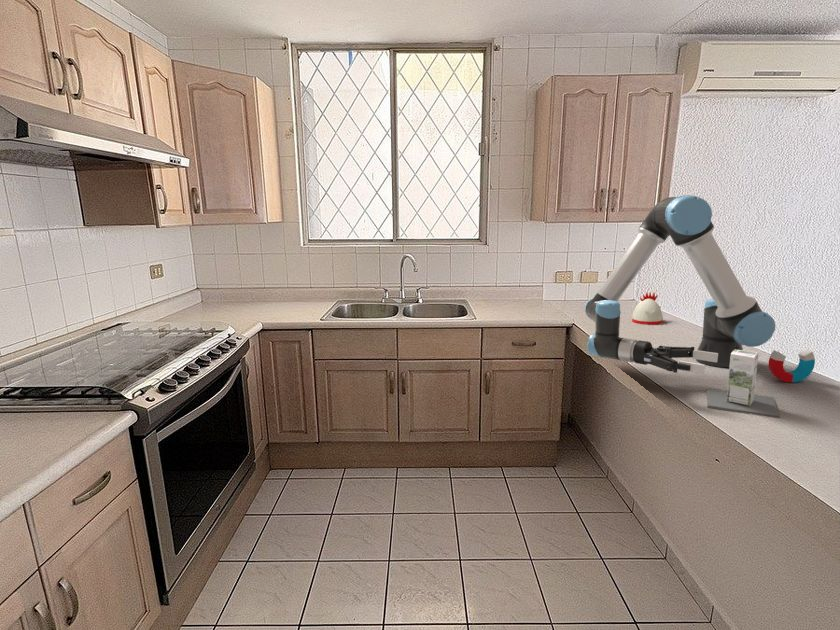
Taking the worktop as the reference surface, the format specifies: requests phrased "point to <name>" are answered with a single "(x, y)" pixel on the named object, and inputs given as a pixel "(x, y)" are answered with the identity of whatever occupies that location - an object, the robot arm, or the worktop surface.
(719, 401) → the rubber mat
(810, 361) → the magnet
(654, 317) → the cream beanie hat
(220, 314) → the worktop surface
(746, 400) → the syrup box
